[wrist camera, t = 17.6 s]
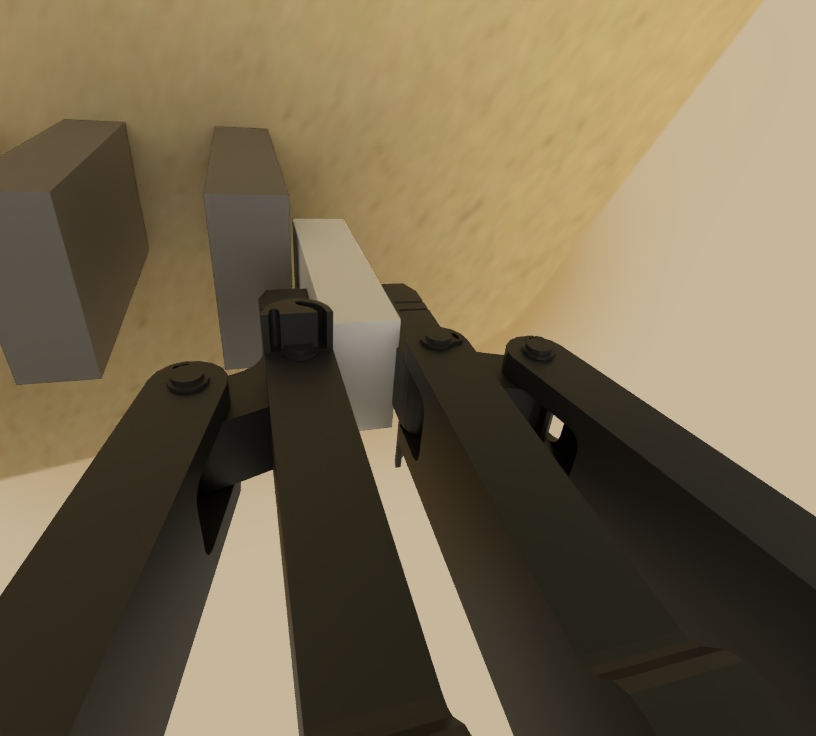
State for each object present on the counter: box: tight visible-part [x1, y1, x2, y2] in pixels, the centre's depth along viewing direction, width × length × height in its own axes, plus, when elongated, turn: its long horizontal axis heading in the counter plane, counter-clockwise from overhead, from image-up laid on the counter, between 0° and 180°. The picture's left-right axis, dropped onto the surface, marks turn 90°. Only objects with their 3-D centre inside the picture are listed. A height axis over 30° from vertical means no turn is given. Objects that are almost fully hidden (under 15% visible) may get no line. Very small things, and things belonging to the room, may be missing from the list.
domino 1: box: [0, 119, 149, 385], centre depth 17 cm, size 2×5×10 cm, turn 175°
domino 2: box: [203, 127, 292, 370], centre depth 18 cm, size 2×5×10 cm, turn 175°
